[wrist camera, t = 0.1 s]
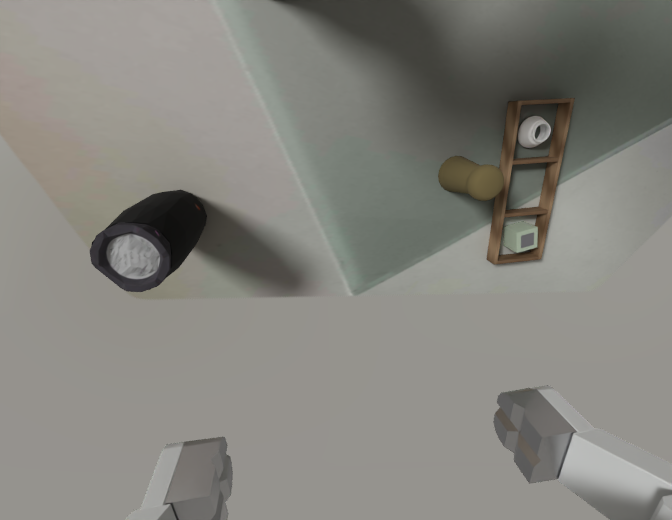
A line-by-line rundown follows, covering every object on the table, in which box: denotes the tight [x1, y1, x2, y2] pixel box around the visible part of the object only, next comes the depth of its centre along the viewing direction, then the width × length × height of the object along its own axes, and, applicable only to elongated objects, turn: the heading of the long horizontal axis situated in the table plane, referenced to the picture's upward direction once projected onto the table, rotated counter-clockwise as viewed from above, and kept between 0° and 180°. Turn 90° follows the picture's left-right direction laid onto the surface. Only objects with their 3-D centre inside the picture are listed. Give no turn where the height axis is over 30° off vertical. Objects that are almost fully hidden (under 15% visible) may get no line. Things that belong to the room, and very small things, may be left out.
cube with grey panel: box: [503, 221, 538, 253], centre depth 62 cm, size 4×4×4 cm
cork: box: [438, 156, 504, 201], centre depth 52 cm, size 6×6×11 cm
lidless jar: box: [518, 116, 551, 148], centre depth 55 cm, size 5×3×5 cm
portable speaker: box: [90, 190, 207, 292], centre depth 44 cm, size 9×9×20 cm
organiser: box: [487, 98, 575, 264], centre depth 59 cm, size 28×10×2 cm, turn 3°
